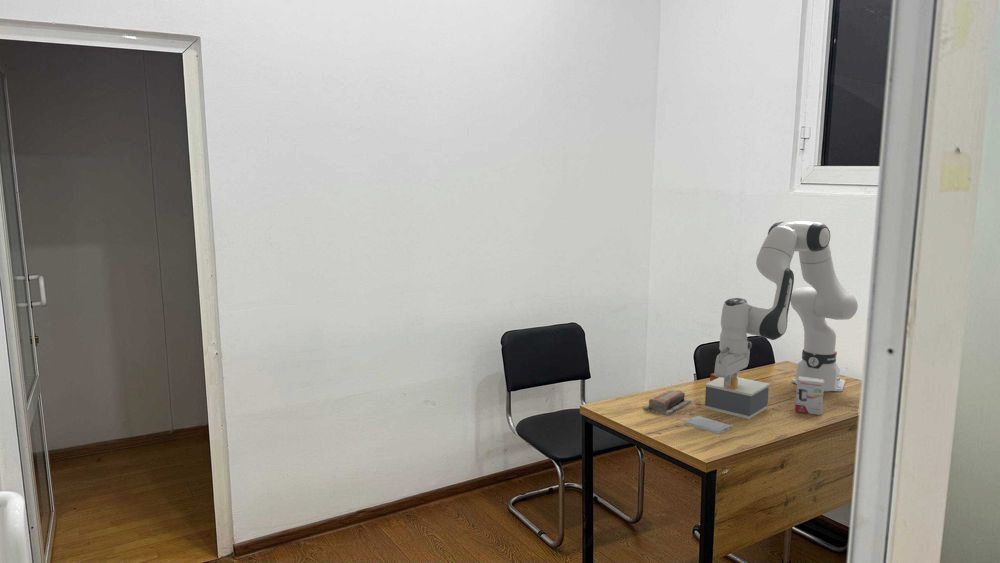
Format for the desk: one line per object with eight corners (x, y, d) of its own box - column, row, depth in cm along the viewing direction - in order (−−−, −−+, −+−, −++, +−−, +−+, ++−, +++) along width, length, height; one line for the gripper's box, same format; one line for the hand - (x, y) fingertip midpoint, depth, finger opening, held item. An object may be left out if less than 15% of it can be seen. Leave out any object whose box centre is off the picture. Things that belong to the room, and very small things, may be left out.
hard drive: (684, 421, 224) (719, 430, 215) (697, 415, 229) (732, 424, 220) (684, 425, 224) (719, 435, 215) (697, 420, 229) (731, 429, 221)
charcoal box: (724, 398, 251) (725, 377, 250) (767, 408, 241) (768, 386, 240) (704, 408, 240) (706, 386, 239) (749, 419, 229) (750, 396, 228)
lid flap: (725, 376, 251) (725, 365, 250) (770, 385, 240) (770, 374, 239) (704, 386, 239) (705, 374, 238) (751, 396, 228) (752, 384, 227)
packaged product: (669, 403, 231) (643, 397, 237) (669, 417, 232) (642, 410, 238) (692, 391, 245) (666, 386, 251) (691, 404, 245) (666, 398, 252)
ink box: (794, 412, 237) (797, 379, 235) (794, 408, 241) (796, 375, 240) (822, 415, 233) (824, 382, 232) (821, 411, 238) (824, 378, 236)
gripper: (729, 352, 223) (726, 393, 225) (753, 342, 238) (751, 380, 240) (710, 349, 227) (708, 389, 229) (736, 339, 242) (734, 377, 244)
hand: (730, 384), depth 234 cm, fingers closed on lid flap, 2 cm apart
